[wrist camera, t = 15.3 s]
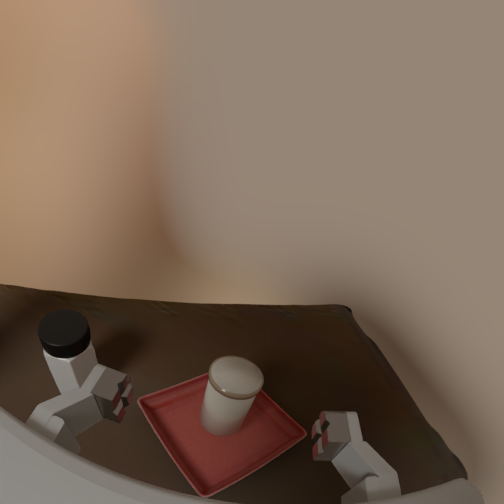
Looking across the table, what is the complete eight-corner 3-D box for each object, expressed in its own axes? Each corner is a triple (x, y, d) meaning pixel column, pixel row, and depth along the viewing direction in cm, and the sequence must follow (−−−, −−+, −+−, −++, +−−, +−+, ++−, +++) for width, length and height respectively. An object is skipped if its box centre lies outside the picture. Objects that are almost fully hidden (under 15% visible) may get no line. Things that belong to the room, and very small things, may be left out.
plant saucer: (202, 504, 23) (203, 499, 22) (137, 409, 35) (135, 397, 34) (303, 443, 35) (309, 433, 33) (231, 373, 47) (234, 361, 46)
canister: (191, 428, 31) (202, 383, 28) (205, 396, 37) (218, 349, 33) (237, 443, 31) (259, 402, 27) (246, 409, 37) (267, 365, 33)
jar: (108, 396, 35) (93, 342, 31) (62, 405, 31) (37, 351, 26) (96, 358, 42) (84, 304, 37) (55, 365, 37) (37, 310, 32)
